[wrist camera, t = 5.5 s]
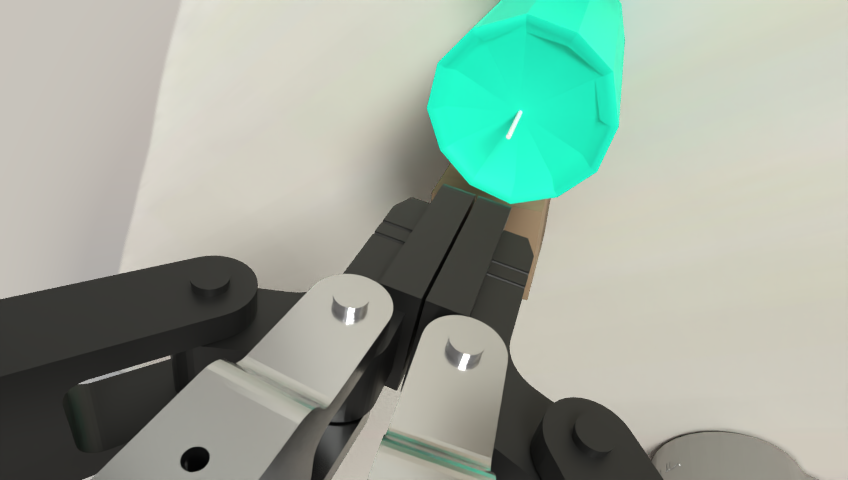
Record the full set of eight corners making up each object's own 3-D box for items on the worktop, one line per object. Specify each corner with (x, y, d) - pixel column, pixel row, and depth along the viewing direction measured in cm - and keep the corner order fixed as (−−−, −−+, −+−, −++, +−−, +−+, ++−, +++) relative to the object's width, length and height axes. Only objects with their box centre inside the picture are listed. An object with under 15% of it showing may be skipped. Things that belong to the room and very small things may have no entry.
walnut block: (558, 155, 28) (542, 212, 24) (544, 234, 31) (527, 300, 26) (464, 140, 30) (431, 192, 25) (459, 218, 32) (428, 278, 28)
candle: (613, 104, 26) (600, 239, 17) (490, 95, 28) (413, 212, 18) (637, -35, 23) (638, 33, 13) (495, -37, 24) (406, 23, 15)
